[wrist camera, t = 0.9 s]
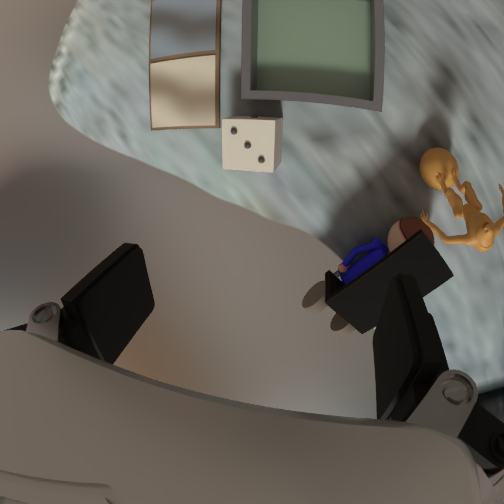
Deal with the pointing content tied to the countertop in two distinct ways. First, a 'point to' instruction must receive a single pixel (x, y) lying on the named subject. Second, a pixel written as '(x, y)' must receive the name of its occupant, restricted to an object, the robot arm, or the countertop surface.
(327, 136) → the countertop surface
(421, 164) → the figurine
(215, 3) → the track
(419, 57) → the countertop surface
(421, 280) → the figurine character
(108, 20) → the countertop surface
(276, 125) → the die
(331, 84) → the tray
